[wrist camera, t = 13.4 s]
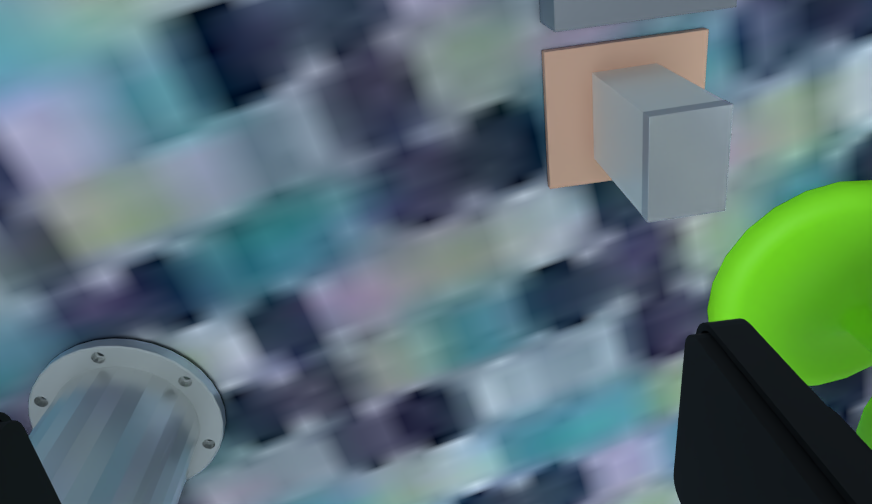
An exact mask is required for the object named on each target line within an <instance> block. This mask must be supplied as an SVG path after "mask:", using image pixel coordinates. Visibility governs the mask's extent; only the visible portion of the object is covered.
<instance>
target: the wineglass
mask: <svg viewBox="0 0 872 504" xmlns="http://www.w3.org/2000/svg"><path fill="white" fill-rule="evenodd" d="M707 311H708V320H709V322H714V321H722V320H730V319H738V318H741V319H745V320H746V321H748V322H749V323H750V324H751V325H752V326H753V327H754V328H755V330H756V331H757V332H758V333H759V334H760V335H761V336H762V337H763V338H764V339H765V340H766V341H767V342H768V343H769V345H770V346H771V347H772V348H773V349H774V350H775V351H776V352H777V353H778V354H779V355H780V356H781V357H782V359H783V360H784V361H785V362H786V363H787V364H788V365H789V366H790V367H791V368H792V369H793V370H794V371H795V372H796V374H797V375H798V376H799V377H800V378H801V379H802V380H803V381H804V382H805V383H806V384H807V385H808V386H816V385H821V384H825V383H829V382H832V381H836V380H840V379H844V378H847V377H849V376H851V375H853V374H855V373H858V372H860V371H862V370H864V369H866V368H868V367H871V366H872V180H867V181H845V182H837V183H833V184H830V185H826V186H823V187H819V188H816V189H812V190H809V191H806V192H804V193H802V194H800V195H798V196H796V197H794V198H792V199H790V200H788V201H787V202H785V203H783V204H781V205H779V206H777V207H775V208H774V209H772V210H771V211H770V212H769V213H767V214H766V215H765V216H764V217H763V218H761V219H760V220H759V221H758V222H756V223H755V224H754V225H753V226H751V227H750V228H749V229H748V230H747V231H746V232H745V233H744V234H743V236H742V237H741V238H740V239H739V241H738V242H737V243H736V244H735V246H734V247H733V248H732V249H731V250H730V252H729V253H728V254H727V255H726V257H725V259H724V261H723V263H722V265H721V267H720V269H719V271H718V273H717V275H716V277H715V279H714V281H713V284H712V289H711V294H710V299H709V304H708V309H707ZM856 434H857V435H858V436H859V437H860V438H861V439H862V440H863V441H864V442H865V443H866V444H867V445H868V446H869V447H870V448H871V450H872V397H871V399H870V400H869V402H868V403H867V405H866V406H865V408H864V410H863V413H862V416H861V419H860V422H859V424H858V427H857V430H856Z"/></svg>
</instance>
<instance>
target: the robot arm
mask: <svg viewBox="0 0 872 504" xmlns="http://www.w3.org/2000/svg"><path fill="white" fill-rule="evenodd" d="M28 411H29V418H30V422H31V426H32V429H33V430H32V432H31V433H30V435H29V436H28V435H27V433H26V431H25V428H24V427H23V426H22V424H21V423H19V422H18V421H12V420H11V419H10V417H9V416H8V415H6V414H5V413H3V412H0V504H178V501H179V498H180V495H181V492H182V490H183V487H184V484H185V481H186V480H188V479H191V478H192V477H194V476H195V475H197V474H198V473H200V472H201V471H203V470H204V469H205V468H206V467H207V466H208V465H209V463H210V462H211V461H212V460H213V459H214V457H215V455H216V454H217V452H218V450H219V448H220V445H221V442H222V439H223V436H224V432H225V425H226V417H225V408H224V405H223V402H222V399H221V397H220V394H219V393H218V391H217V390H216V388H215V386H214V385H213V383H212V382H211V381H210V379H209V378H208V377H207V376H206V375H205V374H204V373H203V372H202V371H201V370H200V369H199V368H198V367H196V366H195V365H194V364H192V363H191V362H190V361H189V360H187V359H186V358H184V357H182V356H180V355H178V354H176V353H175V352H173V351H171V350H168V349H166V348H163V347H160V346H157V345H155V344H152V343H147V342H142V341H137V340H132V339H114V338H113V339H103V340H94V341H90V342H87V343H83V344H79V345H76V346H74V347H72V348H70V349H68V350H66V351H64V352H62V353H61V354H60V355H58V356H57V357H56V358H54V359H53V360H52V361H51V362H50V363H49V364H48V365H47V366H46V368H45V369H44V370H43V371H42V372H41V374H40V375H39V376H38V378H37V380H36V382H35V383H34V385H33V387H32V389H31V392H30V396H29V400H28ZM674 484H675V488H676V492H677V495H678V498H679V500H680V502H681V504H872V450H871V448H870V447H869V446H868V445H867V444H866V443H865V442H864V441H863V440H862V439H861V438H860V437H859V436H858V435H857V434H856V432H855V431H854V430H853V429H852V428H851V427H850V426H849V425H848V424H847V423H846V422H845V421H844V420H843V419H842V418H841V417H840V415H838V414H837V413H836V412H835V411H833V410H832V409H831V408H830V407H827V406H826V405H825V404H824V403H823V401H822V400H821V399H820V398H819V397H818V396H817V395H816V394H815V393H814V392H813V391H812V390H811V389H810V388H809V386H808V385H807V384H806V383H805V382H804V381H803V380H802V379H801V378H800V377H799V376H798V375H797V374H796V372H795V371H794V370H793V369H792V368H791V367H790V366H789V365H788V364H787V363H786V362H785V361H784V360H783V359H782V357H781V356H780V355H779V354H778V353H777V352H776V351H775V350H774V349H773V348H772V347H771V346H770V345H769V343H768V342H767V341H766V340H765V339H764V338H763V337H762V336H761V335H760V334H759V333H758V332H757V331H756V330H755V328H754V327H753V326H752V325H751V324H750V323H749V322H748V321H746V320H745V319H741V318H738V319H730V320H722V321H714V322H706V323H702V324H700V325H699V327H698V328H697V332H696V334H693V335H689V336H688V337H687V338H686V342H685V350H684V361H683V373H682V384H681V395H680V407H679V418H678V430H677V441H676V453H675V464H674Z"/></svg>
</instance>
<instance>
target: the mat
mask: <svg viewBox="0 0 872 504" xmlns="http://www.w3.org/2000/svg"><path fill="white" fill-rule="evenodd" d="M708 30H709V29H706V28H699V29H692V30H684V31H677V32H670V33H663V34H656V35H648V36H641V37H634V38H627V39H620V40H612V41H605V42H598V43H591V44H584V45H576V46H569V47H562V48H555V49H548V50H542V68H543V90H544V111H545V132H546V154H547V175H548V186H549V188H550V189H553V188H561V187H568V186H575V185H582V184H589V183H596V182H604V181H611V180H612V179H611V178H610V177H609V175H608V174H607V173H606V172H605V171H604V170H603V168H602V167H601V166H600V165H599V164H598V163H597V161H596V160H595V159H594V138H593V94H592V73H594V72H600V71H607V70H614V69H621V68H627V67H634V66H641V65H647V64H654V63H657V64H659V65H661V66H663V67H665V68H666V69H668V70H670V71H672V72H674V73H676V74H677V75H679V76H681V77H683V78H685V79H687V80H688V81H690V82H692V83H694V84H696V85H697V86H699V87H701V88H703V89H705V76H706V61H707V46H708Z"/></svg>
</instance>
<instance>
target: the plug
mask: <svg viewBox="0 0 872 504" xmlns="http://www.w3.org/2000/svg"><path fill="white" fill-rule="evenodd" d="M592 94H593V138H594V159H595V160H596V161H597V163H598V164H599V165H600V166H601V167H602V168H603V170H604V171H605V172H606V173H607V174H608V175H609V177H610V178H611V179H612V180H613V181H614V183H615V184H616V185H617V186H618V187H619V188H620V190H621V191H622V192H623V193H624V194H625V195H626V197H627V198H628V199H629V200H630V201H631V203H632V204H633V205H634V206H635V207H636V208H637V210H638V211H639V212H640V213H641V214H642V216H643V218H644V219H645V220H646V221H647V222H654V221H660V220H667V219H674V218H681V217H687V216H694V215H701V214H707V213H714V212H721V211H725V206H726V193H727V180H728V167H729V154H730V141H731V128H732V115H733V104H732V103H730V102H728V101H726V100H723V99H721V98H719V97H717V96H716V95H714V94H712V93H710V92H708V91H707V90H705V89H703V88H701V87H699V86H697V85H696V84H694V83H692V82H690V81H688V80H687V79H685V78H683V77H681V76H679V75H677V74H676V73H674V72H672V71H670V70H668V69H666V68H665V67H663V66H661V65H659V64H657V63H654V64H647V65H641V66H634V67H627V68H621V69H614V70H607V71H600V72H594V73H592Z"/></svg>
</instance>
